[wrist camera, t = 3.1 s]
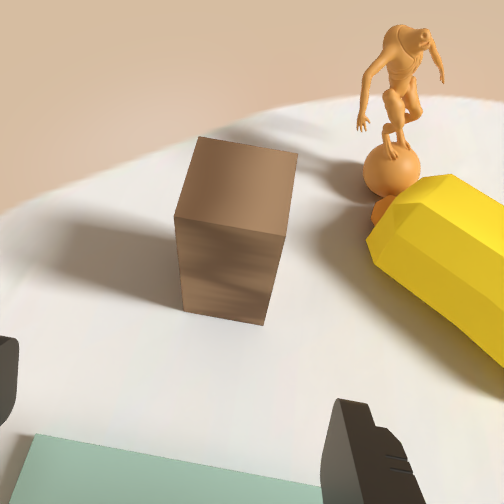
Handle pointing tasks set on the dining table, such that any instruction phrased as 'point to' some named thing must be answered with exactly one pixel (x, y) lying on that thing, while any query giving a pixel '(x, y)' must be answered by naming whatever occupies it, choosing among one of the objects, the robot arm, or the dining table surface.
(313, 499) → the teal board
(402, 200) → the yellow faceted bar
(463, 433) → the dining table surface
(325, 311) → the dining table surface
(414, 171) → the figurine
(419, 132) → the dining table surface
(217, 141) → the walnut block
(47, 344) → the dining table surface
